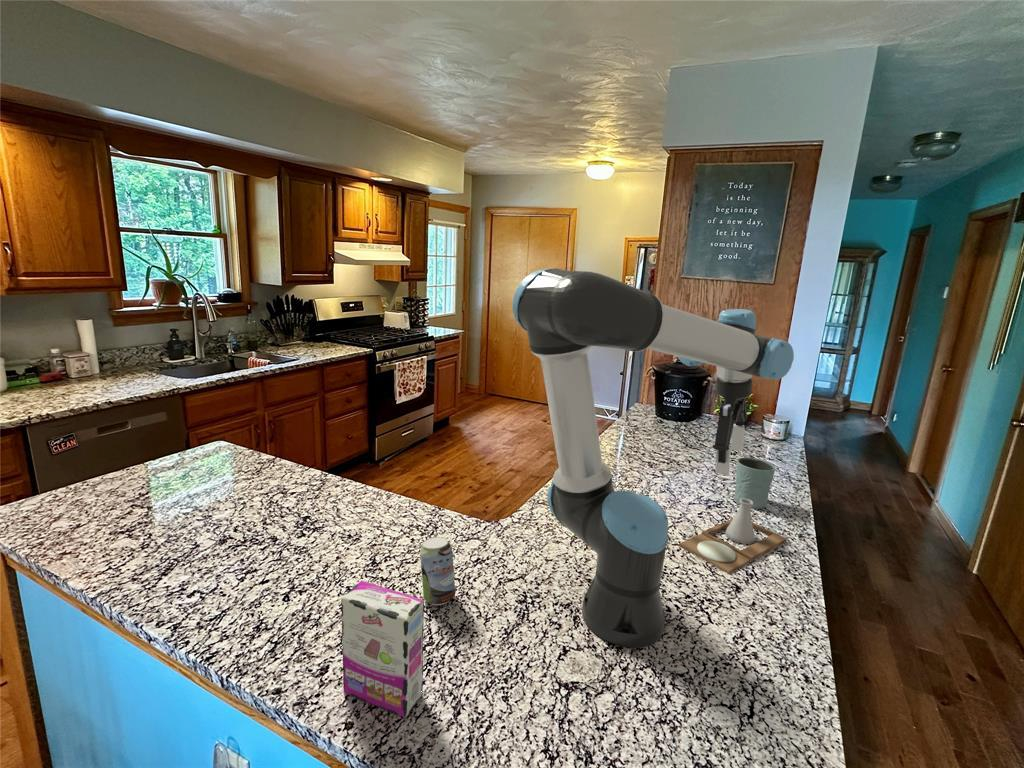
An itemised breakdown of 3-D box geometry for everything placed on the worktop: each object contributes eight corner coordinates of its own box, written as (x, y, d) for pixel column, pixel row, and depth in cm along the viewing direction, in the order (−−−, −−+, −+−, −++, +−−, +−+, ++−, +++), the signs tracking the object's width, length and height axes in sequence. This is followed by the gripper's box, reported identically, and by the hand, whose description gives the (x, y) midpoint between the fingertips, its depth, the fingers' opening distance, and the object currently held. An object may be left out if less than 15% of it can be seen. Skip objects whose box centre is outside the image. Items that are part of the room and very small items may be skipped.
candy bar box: (424, 693, 75) (426, 598, 71) (406, 720, 71) (407, 620, 67) (362, 668, 79) (361, 577, 75) (341, 693, 74) (339, 597, 71)
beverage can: (441, 614, 92) (443, 557, 89) (411, 599, 96) (412, 543, 93) (462, 597, 97) (464, 542, 94) (433, 583, 101) (434, 529, 98)
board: (728, 573, 110) (729, 569, 110) (678, 545, 120) (679, 541, 120) (786, 541, 125) (787, 537, 125) (738, 519, 135) (738, 515, 135)
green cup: (759, 513, 140) (766, 473, 137) (724, 499, 147) (730, 461, 144) (773, 503, 146) (781, 465, 144) (739, 490, 154) (746, 454, 151)
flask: (758, 547, 122) (766, 510, 120) (727, 542, 123) (734, 505, 121) (751, 532, 129) (758, 496, 127) (721, 527, 130) (728, 492, 128)
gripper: (738, 397, 102) (733, 488, 109) (763, 364, 121) (758, 443, 128) (700, 392, 107) (698, 480, 113) (731, 361, 125) (727, 438, 132)
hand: (730, 461), depth 121 cm, fingers open, 13 cm apart
